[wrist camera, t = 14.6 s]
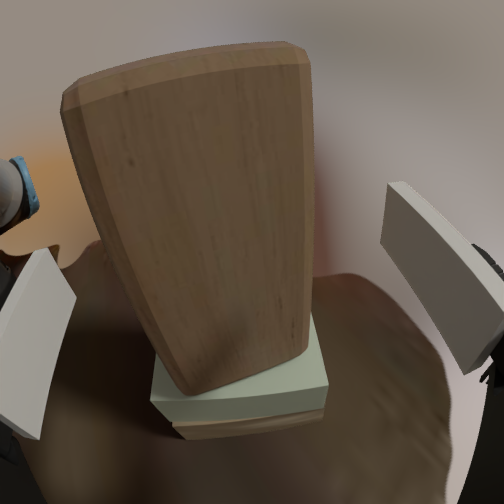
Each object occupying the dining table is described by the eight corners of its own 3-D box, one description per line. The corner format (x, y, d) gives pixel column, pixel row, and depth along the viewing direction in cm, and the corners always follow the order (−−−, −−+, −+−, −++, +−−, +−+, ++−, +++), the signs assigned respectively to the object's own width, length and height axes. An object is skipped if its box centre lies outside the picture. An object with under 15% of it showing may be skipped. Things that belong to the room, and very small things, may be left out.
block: (158, 310, 27) (85, 82, 15) (260, 277, 29) (234, 49, 17) (184, 404, 19) (48, 89, 7) (312, 355, 22) (318, 40, 10)
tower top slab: (180, 311, 33) (168, 281, 30) (298, 297, 33) (298, 265, 30) (169, 421, 23) (150, 400, 20) (323, 408, 22) (328, 385, 20)
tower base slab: (187, 339, 35) (176, 315, 32) (294, 322, 36) (294, 296, 33) (187, 441, 25) (172, 426, 22) (321, 422, 25) (325, 405, 22)
